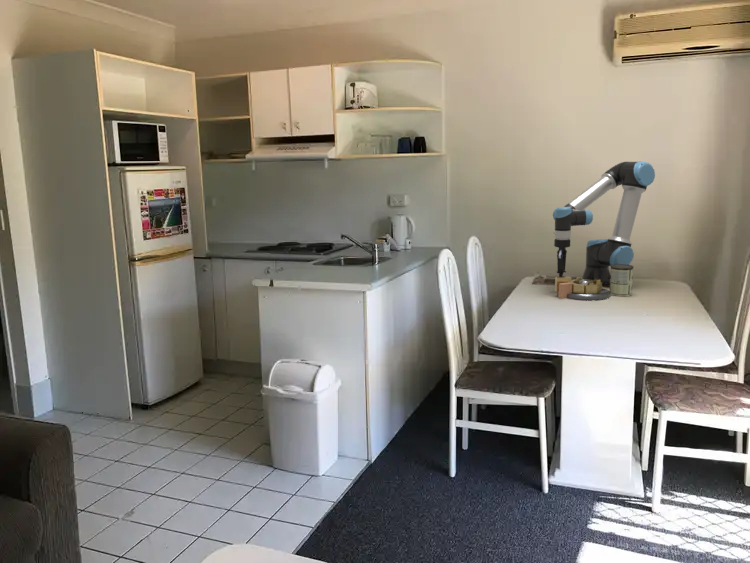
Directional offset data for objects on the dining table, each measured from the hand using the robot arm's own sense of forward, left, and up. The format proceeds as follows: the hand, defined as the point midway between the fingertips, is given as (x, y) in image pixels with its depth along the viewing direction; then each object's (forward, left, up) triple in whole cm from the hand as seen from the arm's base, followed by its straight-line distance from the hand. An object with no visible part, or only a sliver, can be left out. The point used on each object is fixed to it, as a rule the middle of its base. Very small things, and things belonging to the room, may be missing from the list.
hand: (560, 285), depth 310 cm
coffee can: (-28, +6, -4) cm, 29 cm away
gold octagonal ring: (-6, +6, -1) cm, 9 cm away
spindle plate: (-10, +6, -4) cm, 12 cm away
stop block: (+1, +11, -4) cm, 12 cm away
